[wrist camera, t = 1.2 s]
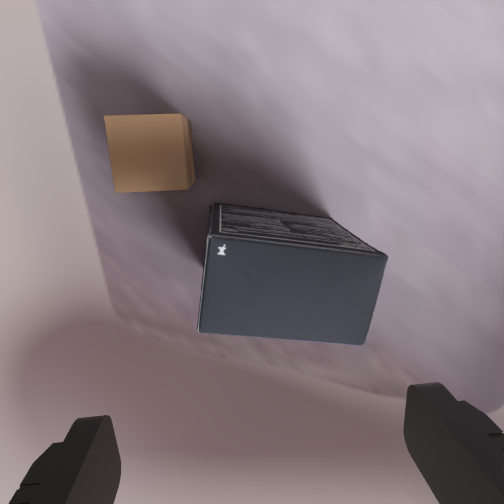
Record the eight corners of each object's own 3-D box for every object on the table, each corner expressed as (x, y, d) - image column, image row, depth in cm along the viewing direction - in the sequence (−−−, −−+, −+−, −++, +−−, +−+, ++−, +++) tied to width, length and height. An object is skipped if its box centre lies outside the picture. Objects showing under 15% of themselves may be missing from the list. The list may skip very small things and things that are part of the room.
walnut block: (130, 123, 26) (103, 115, 20) (190, 121, 26) (181, 113, 20) (138, 183, 27) (115, 192, 21) (195, 181, 27) (187, 189, 22)
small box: (202, 275, 30) (192, 339, 20) (210, 200, 28) (203, 229, 18) (319, 287, 31) (365, 353, 21) (334, 216, 29) (392, 251, 19)
